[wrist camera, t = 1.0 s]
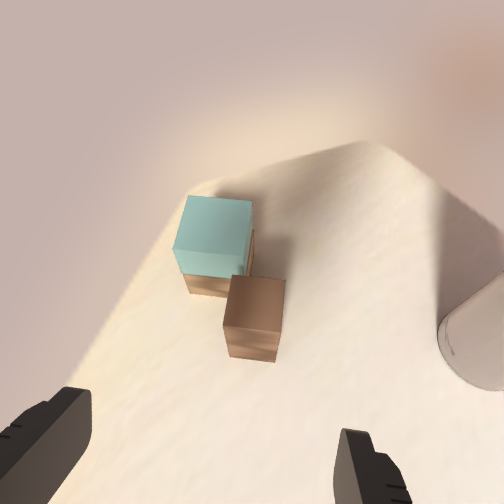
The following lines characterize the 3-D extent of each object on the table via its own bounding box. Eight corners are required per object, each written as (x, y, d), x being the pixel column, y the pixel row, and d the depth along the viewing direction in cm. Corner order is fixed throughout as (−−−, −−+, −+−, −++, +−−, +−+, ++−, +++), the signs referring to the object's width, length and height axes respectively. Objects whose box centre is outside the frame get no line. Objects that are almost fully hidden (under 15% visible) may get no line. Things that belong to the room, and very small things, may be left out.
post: (278, 319, 40) (285, 280, 32) (274, 362, 37) (281, 332, 29) (236, 314, 40) (231, 274, 32) (229, 356, 38) (222, 325, 29)
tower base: (253, 251, 45) (253, 229, 41) (246, 300, 41) (245, 281, 37) (201, 246, 46) (196, 223, 41) (189, 293, 42) (182, 274, 38)
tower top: (252, 228, 41) (252, 200, 37) (244, 280, 37) (243, 256, 33) (195, 222, 41) (188, 195, 37) (181, 273, 38) (172, 249, 34)
